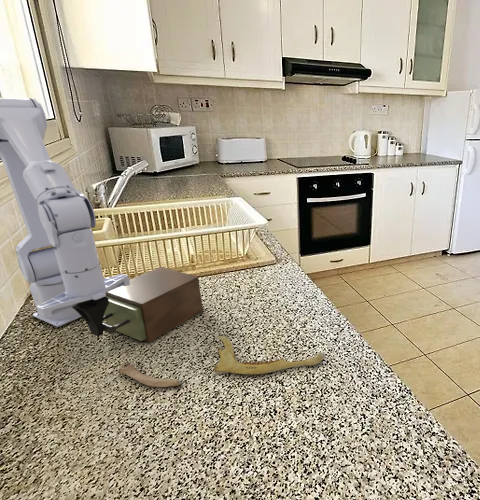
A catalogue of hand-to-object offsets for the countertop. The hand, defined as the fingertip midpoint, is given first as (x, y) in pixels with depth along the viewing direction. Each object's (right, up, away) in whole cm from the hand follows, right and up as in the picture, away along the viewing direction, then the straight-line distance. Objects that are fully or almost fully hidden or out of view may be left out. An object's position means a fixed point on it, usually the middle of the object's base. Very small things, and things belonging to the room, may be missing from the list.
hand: (97, 333), depth 69 cm
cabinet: (+5, +1, +12) cm, 13 cm away
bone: (+13, -7, -6) cm, 16 cm away
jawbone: (+30, -5, 0) cm, 31 cm away
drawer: (+4, 0, +8) cm, 9 cm away
